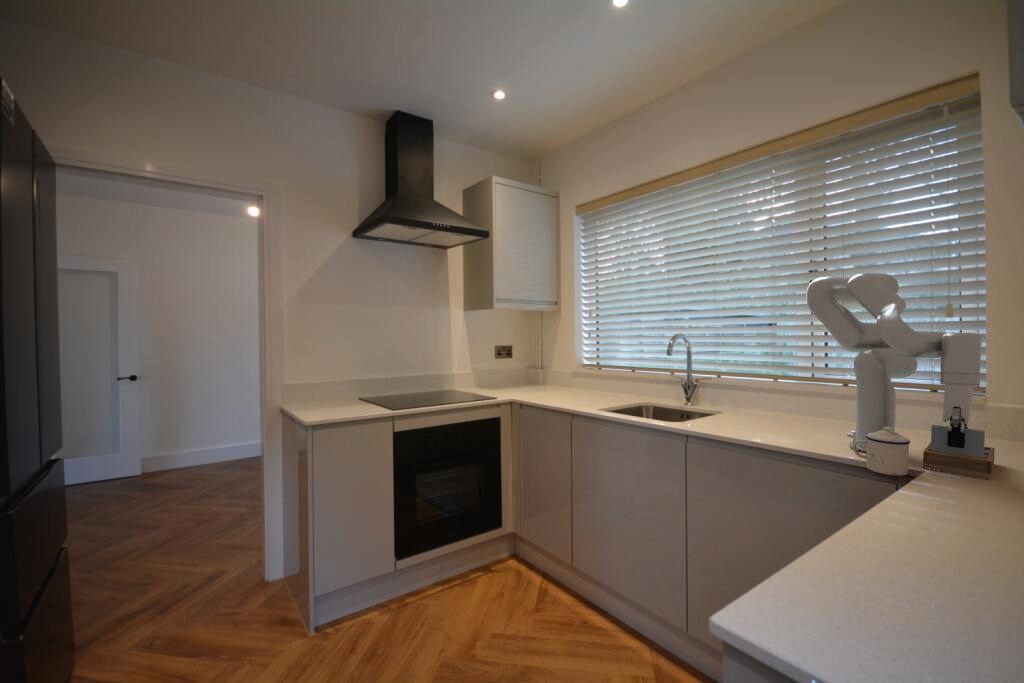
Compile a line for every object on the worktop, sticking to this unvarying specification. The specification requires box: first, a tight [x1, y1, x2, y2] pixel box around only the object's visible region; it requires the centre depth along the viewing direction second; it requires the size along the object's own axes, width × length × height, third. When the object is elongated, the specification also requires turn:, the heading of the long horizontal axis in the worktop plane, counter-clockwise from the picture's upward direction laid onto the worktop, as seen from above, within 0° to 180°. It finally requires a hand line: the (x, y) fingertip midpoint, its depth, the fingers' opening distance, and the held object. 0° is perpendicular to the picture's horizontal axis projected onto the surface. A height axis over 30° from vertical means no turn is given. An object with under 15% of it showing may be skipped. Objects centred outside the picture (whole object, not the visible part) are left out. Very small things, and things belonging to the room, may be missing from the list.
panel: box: [930, 424, 986, 459], centre depth 123 cm, size 2×10×10 cm, turn 42°
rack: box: [922, 442, 996, 481], centre depth 127 cm, size 20×13×5 cm, turn 132°
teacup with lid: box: [852, 427, 911, 477], centre depth 124 cm, size 12×9×12 cm
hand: (957, 444), depth 123 cm, fingers open, 9 cm apart
